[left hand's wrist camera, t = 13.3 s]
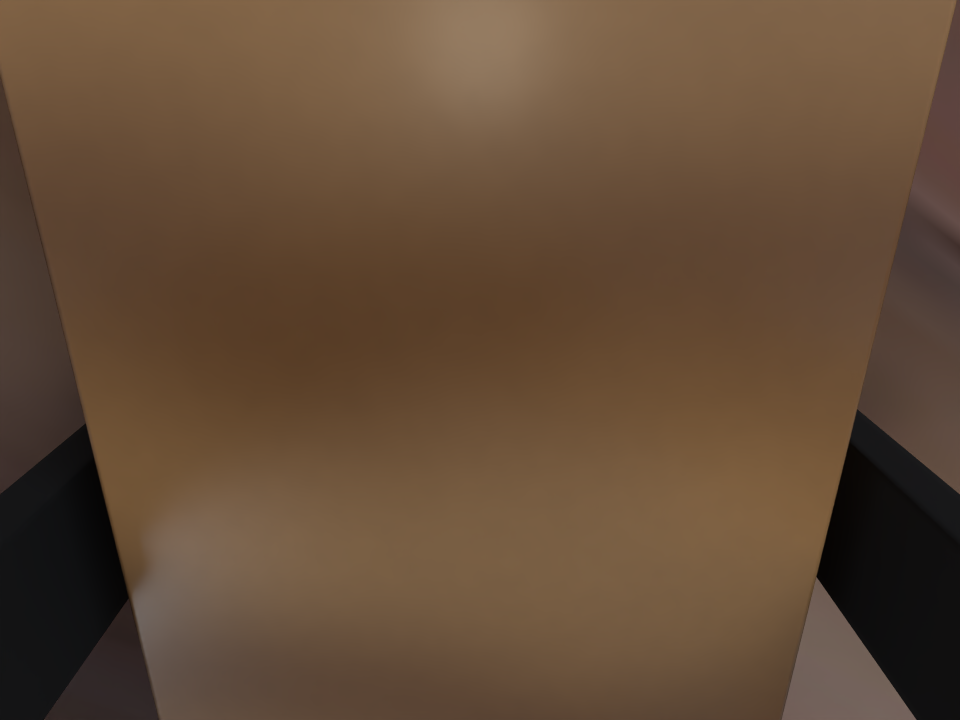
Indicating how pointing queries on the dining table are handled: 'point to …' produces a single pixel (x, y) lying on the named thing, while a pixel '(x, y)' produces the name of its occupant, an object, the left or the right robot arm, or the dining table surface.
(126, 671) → the dining table surface
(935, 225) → the dining table surface
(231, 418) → the wide beam
